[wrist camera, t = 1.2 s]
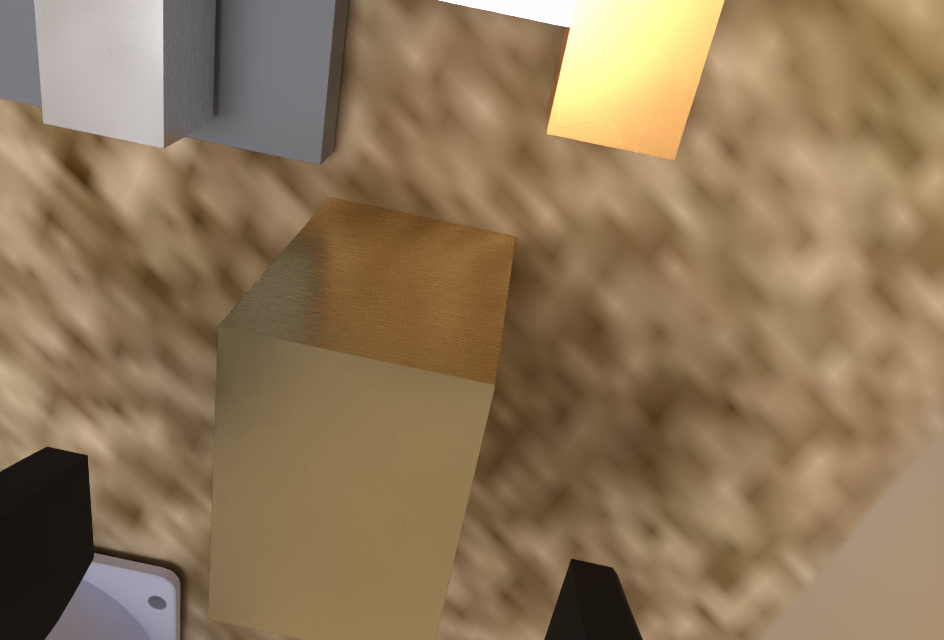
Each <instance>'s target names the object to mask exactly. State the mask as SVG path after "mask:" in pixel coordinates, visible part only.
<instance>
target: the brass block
mask: <svg viewBox="0 0 944 640" xmlns="http://www.w3.org/2000/svg"><path fill="white" fill-rule="evenodd" d="M515 240H516V236H511V235H506V234H502V233H497V232H492V231H487V230H483V229H478V228H473V227H468V226H464V225H459V224H454V223H449V222H445V221H440V220H435V219H430V218H426V217H421V216H416V215H411V214H406V213H402V212H397V211H392V210H387V209H383V208H378V207H373V206H368V205H364V204H359V203H354V202H349V201H345V200H340V199H335V198H330V197H329V199H328V200H327V201H326V202H325V203H324V204H323V206H322V207H321V208H320V209H319V210H318V211H317V213H316V214H315V215H314V216H313V217H312V218H311V219H310V221H309V222H308V223H307V224H306V225H305V226H304V228H303V229H302V230H301V231H300V232H299V233H298V235H297V236H296V237H295V238H294V239H293V240H292V241H291V243H290V244H289V245H288V246H287V247H286V248H285V250H284V251H283V252H282V253H281V254H280V255H279V257H278V258H277V259H276V260H275V261H274V262H273V263H272V265H271V266H270V267H269V268H268V269H267V270H266V272H265V273H264V274H263V275H262V276H261V277H260V279H259V280H258V281H257V282H256V283H255V284H254V285H253V287H252V288H251V289H250V290H249V291H248V292H247V294H246V295H245V296H244V297H243V298H242V299H241V301H240V302H239V303H238V304H237V305H236V306H235V307H234V309H233V310H232V311H231V312H230V313H229V314H228V316H227V317H226V318H225V319H224V320H223V321H222V323H221V324H220V325H219V326H218V345H217V375H216V405H215V435H214V465H213V495H212V525H211V555H210V585H209V615H208V620H213V621H217V622H222V623H227V624H231V625H236V626H241V627H245V628H250V629H255V630H259V631H264V632H269V633H274V634H278V635H283V636H288V637H292V638H297V639H302V640H436V636H437V631H438V627H439V623H440V619H441V614H442V610H443V606H444V602H445V597H446V593H447V589H448V585H449V580H450V576H451V572H452V568H453V563H454V559H455V555H456V551H457V546H458V542H459V538H460V534H461V529H462V525H463V521H464V517H465V512H466V508H467V504H468V500H469V495H470V491H471V487H472V482H473V478H474V474H475V470H476V465H477V461H478V457H479V453H480V448H481V444H482V440H483V436H484V431H485V427H486V423H487V419H488V414H489V410H490V406H491V402H492V397H493V393H494V389H495V384H496V377H497V370H498V363H499V355H500V348H501V341H502V334H503V326H504V319H505V312H506V305H507V297H508V290H509V283H510V276H511V269H512V261H513V254H514V247H515Z"/></svg>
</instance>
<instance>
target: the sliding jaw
mask: <svg viewBox="0 0 944 640" xmlns="http://www.w3.org/2000/svg"><path fill="white" fill-rule="evenodd" d="M440 1H445V2H450V3H454V4H459V5H464V6H469V7H474V8H478V9H483V10H488V11H493V12H498V13H502V14H507V15H512V16H517V17H521V18H526V19H531V20H536V21H541V22H545V23H550V24H555V25H560V26H565V27H566V28H565V33H564V37H563V42H562V46H561V50H560V55H559V59H558V64H557V68H556V72H555V77H554V81H553V86H552V90H551V94H550V99H549V103H548V110H547V129H546V134H551V135H556V136H561V137H565V138H570V139H575V140H580V141H584V142H589V143H594V144H599V145H604V146H608V147H613V148H618V149H623V150H627V151H632V152H637V153H642V154H647V155H651V156H656V157H661V158H666V159H670V160H675V156H676V153H677V150H678V147H679V144H680V140H681V137H682V134H683V131H684V128H685V124H686V121H687V118H688V115H689V112H690V109H691V105H692V102H693V99H694V96H695V93H696V89H697V86H698V83H699V80H700V77H701V73H702V70H703V67H704V64H705V61H706V58H707V54H708V51H709V48H710V45H711V42H712V38H713V35H714V32H715V29H716V26H717V22H718V19H719V16H720V13H721V10H722V7H723V3H724V0H440ZM34 8H35V21H36V34H37V46H38V59H39V72H40V85H41V98H42V111H43V123H45V124H50V125H55V126H59V127H64V128H69V129H74V130H78V131H83V132H88V133H93V134H98V135H102V136H107V137H112V138H117V139H121V140H126V141H131V142H136V143H140V144H145V145H150V146H155V147H159V148H165V147H167V146H169V145H171V144H173V143H174V142H176V141H178V140H180V139H182V138H183V137H185V136H187V135H189V134H191V133H193V132H194V131H196V130H198V129H200V128H202V127H203V126H205V125H207V124H209V123H211V122H213V94H214V55H215V16H216V0H34Z"/></svg>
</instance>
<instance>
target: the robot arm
mask: <svg viewBox="0 0 944 640" xmlns="http://www.w3.org/2000/svg"><path fill="white" fill-rule="evenodd" d="M0 640H180V580H179V578H178V577H177V575H176V574H175V573H174V572H172V571H171V570H169V569H166V568H163V567H158V566H154V565H149V564H144V563H140V562H135V561H130V560H125V559H121V558H116V557H111V556H107V555H102V554H97V553H94V545H93V530H92V515H91V500H90V485H89V470H88V455H83V454H79V453H74V452H69V451H65V450H60V449H55V448H51V447H46V448H44V449H42V450H40V451H38V452H36V453H34V454H32V455H30V456H28V457H26V458H25V459H23V460H21V461H19V462H17V463H15V464H14V465H12V466H10V467H8V468H6V469H4V470H3V471H1V472H0ZM544 640H643V639H642V637H641V634H640V632H639V629H638V627H637V624H636V622H635V620H634V617H633V615H632V612H631V609H630V607H629V604H628V602H627V599H626V596H625V594H624V591H623V589H622V586H621V583H620V580H619V578H618V575H617V573H616V572H615V570H614V569H613V568H612V567H607V566H603V565H598V564H593V563H589V562H584V561H579V560H575V559H571V561H570V564H569V567H568V570H567V573H566V576H565V579H564V582H563V585H562V588H561V591H560V594H559V597H558V600H557V603H556V606H555V609H554V612H553V615H552V618H551V621H550V624H549V627H548V630H547V633H546V636H545V639H544Z"/></svg>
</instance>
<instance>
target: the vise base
mask: <svg viewBox="0 0 944 640" xmlns="http://www.w3.org/2000/svg"><path fill="white" fill-rule="evenodd" d="M348 5H349V0H216V16H215V55H214V94H213V122H211V123H209V124H207V125H205V126H203V127H202V128H200V129H198V130H196V131H194V132H193V133H191V134H189V135H187V136H185V137H189V138H194V139H198V140H203V141H208V142H213V143H217V144H222V145H227V146H232V147H237V148H241V149H246V150H251V151H256V152H260V153H265V154H270V155H275V156H279V157H284V158H289V159H294V160H298V161H303V162H308V163H313V164H318V165H321V164H322V163H323V162H324V161H325V160H326V159H327V158H328V157H329V156H330V155H331V154H332V153H333V152H334V143H335V133H336V124H337V114H338V104H339V94H340V84H341V74H342V64H343V54H344V44H345V34H346V25H347V15H348ZM0 98H3V99H8V100H13V101H17V102H22V103H27V104H32V105H36V106H41V107H42V98H41V85H40V72H39V59H38V46H37V34H36V21H35V8H34V0H0Z"/></svg>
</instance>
